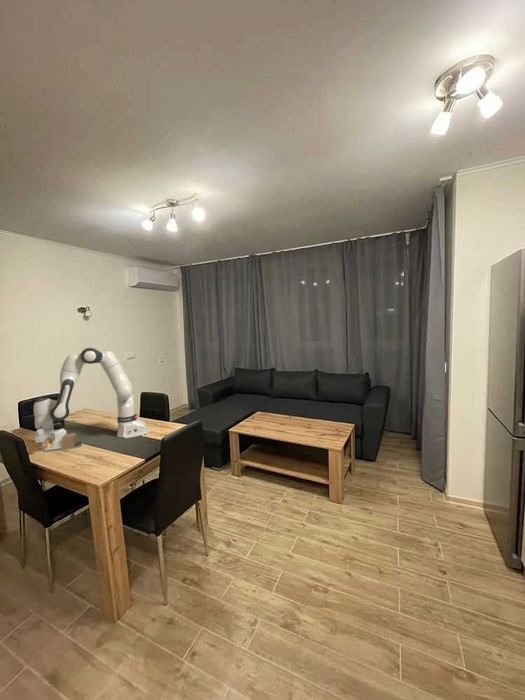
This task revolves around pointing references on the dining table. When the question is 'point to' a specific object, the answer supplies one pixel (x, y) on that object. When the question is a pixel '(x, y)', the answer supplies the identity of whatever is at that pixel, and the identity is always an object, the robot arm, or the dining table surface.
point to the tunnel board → (67, 443)
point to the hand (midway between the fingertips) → (45, 444)
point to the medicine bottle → (57, 432)
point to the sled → (55, 444)
